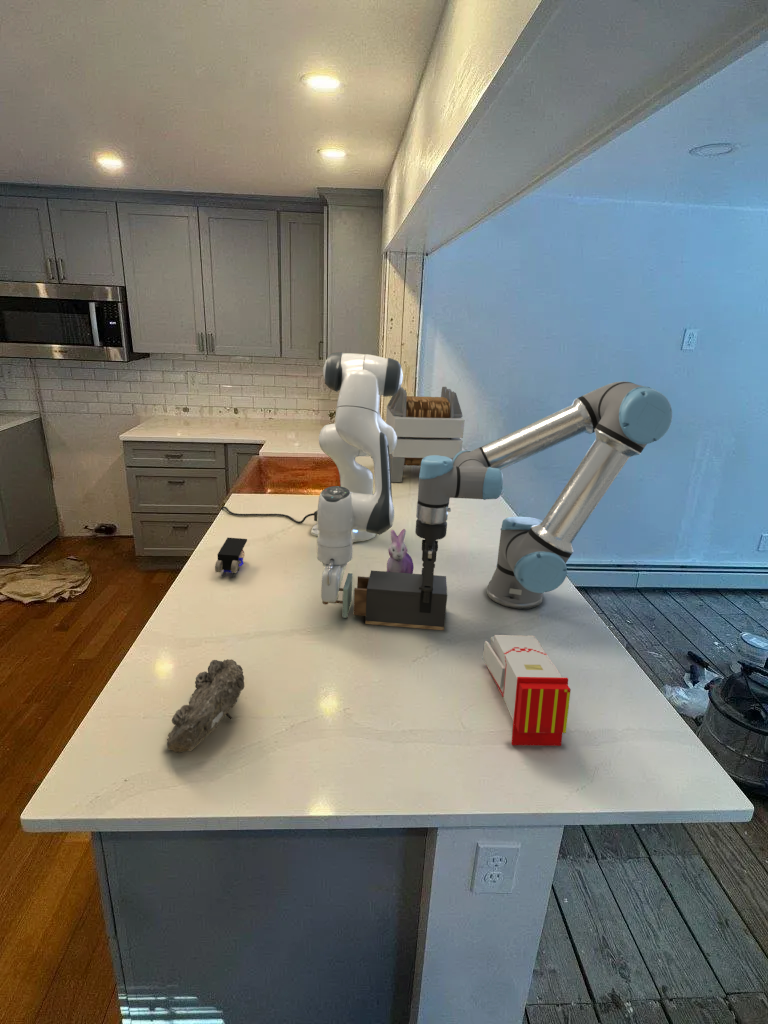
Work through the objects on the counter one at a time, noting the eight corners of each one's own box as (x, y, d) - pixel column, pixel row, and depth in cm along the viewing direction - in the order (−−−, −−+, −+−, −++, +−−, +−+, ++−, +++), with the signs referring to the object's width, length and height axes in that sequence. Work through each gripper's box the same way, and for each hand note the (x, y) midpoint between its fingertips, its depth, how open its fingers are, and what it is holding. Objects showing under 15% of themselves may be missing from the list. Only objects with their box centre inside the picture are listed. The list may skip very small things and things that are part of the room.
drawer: (321, 615, 143) (321, 587, 140) (327, 598, 152) (328, 571, 149) (415, 623, 142) (417, 594, 139) (416, 605, 150) (418, 578, 147)
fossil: (192, 660, 117) (244, 628, 112) (224, 691, 120) (276, 661, 115) (142, 746, 98) (202, 712, 93) (182, 779, 101) (242, 748, 96)
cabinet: (365, 623, 142) (366, 588, 139) (369, 603, 152) (370, 570, 148) (443, 630, 141) (447, 594, 138) (443, 609, 151) (446, 575, 147)
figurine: (393, 588, 161) (395, 539, 156) (376, 573, 169) (378, 526, 164) (421, 582, 165) (425, 534, 160) (404, 568, 173) (407, 522, 168)
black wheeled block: (238, 584, 162) (249, 557, 175) (236, 562, 158) (247, 536, 172) (215, 584, 161) (227, 556, 175) (212, 561, 158) (225, 535, 171)
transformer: (382, 463, 289) (386, 382, 275) (445, 464, 293) (451, 384, 279) (390, 482, 257) (394, 392, 243) (460, 483, 261) (468, 394, 247)
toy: (531, 618, 129) (580, 685, 100) (526, 672, 132) (572, 753, 102) (478, 617, 129) (511, 684, 99) (475, 671, 131) (505, 752, 102)
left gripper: (341, 570, 132) (340, 622, 137) (352, 537, 151) (351, 583, 156) (314, 568, 132) (314, 620, 137) (328, 535, 151) (328, 582, 156)
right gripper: (448, 538, 126) (440, 625, 133) (446, 505, 147) (439, 582, 155) (415, 536, 126) (408, 623, 134) (417, 503, 148) (412, 580, 155)
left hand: (334, 600), depth 146 cm, fingers closed, pressing on drawer
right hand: (425, 601), depth 144 cm, fingers closed on cabinet, 10 cm apart
